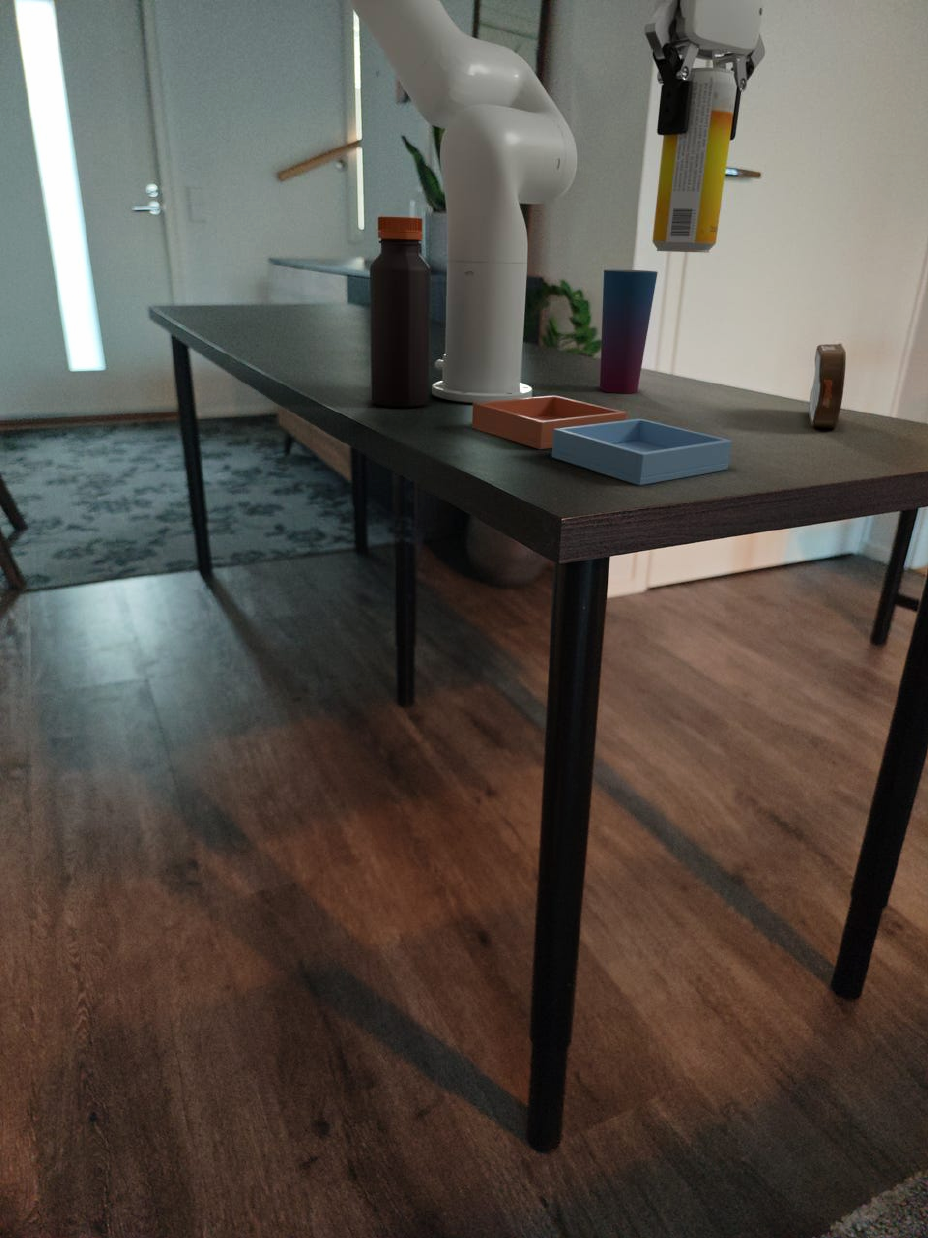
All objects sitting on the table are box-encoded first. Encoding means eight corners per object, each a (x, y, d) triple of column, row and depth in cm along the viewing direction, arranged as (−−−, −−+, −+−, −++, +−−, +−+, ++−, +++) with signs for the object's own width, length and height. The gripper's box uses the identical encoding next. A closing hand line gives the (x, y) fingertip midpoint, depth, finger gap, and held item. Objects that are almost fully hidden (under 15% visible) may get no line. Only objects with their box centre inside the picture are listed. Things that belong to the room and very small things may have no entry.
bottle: (373, 397, 104) (370, 216, 96) (428, 399, 104) (431, 218, 96) (369, 408, 98) (366, 215, 90) (429, 409, 98) (431, 217, 90)
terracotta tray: (471, 427, 89) (472, 402, 88) (552, 418, 95) (554, 395, 94) (539, 449, 81) (541, 422, 80) (624, 438, 87) (627, 412, 86)
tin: (837, 435, 92) (854, 354, 88) (806, 432, 93) (821, 352, 89) (830, 412, 105) (844, 340, 101) (803, 409, 106) (816, 338, 102)
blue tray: (551, 457, 79) (553, 428, 77) (637, 444, 85) (640, 418, 83) (639, 485, 70) (643, 454, 69) (727, 469, 76) (732, 440, 75)
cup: (641, 387, 118) (654, 270, 112) (646, 395, 112) (660, 272, 106) (592, 384, 119) (602, 268, 112) (594, 392, 112) (605, 270, 106)
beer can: (713, 252, 86) (737, 78, 80) (715, 252, 80) (740, 65, 74) (652, 250, 87) (670, 78, 81) (650, 250, 82) (669, 66, 76)
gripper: (750, -71, 80) (721, 147, 87) (622, -118, 70) (602, 131, 78) (822, -92, 75) (785, 143, 82) (694, -146, 65) (665, 125, 72)
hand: (696, 135), depth 80 cm, fingers closed on beer can, 6 cm apart
